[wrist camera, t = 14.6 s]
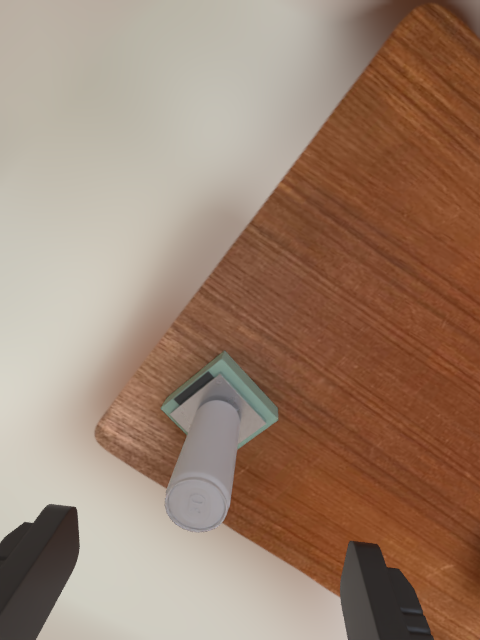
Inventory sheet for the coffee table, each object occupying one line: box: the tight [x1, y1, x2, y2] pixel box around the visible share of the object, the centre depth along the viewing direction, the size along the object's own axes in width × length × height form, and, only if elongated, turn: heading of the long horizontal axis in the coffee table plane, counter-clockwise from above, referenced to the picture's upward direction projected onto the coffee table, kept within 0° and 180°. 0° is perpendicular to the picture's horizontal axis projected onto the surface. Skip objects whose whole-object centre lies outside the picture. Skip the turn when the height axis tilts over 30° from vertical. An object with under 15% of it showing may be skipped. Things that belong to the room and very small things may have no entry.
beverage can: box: [165, 400, 240, 532], centre depth 31 cm, size 5×5×12 cm
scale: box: [161, 351, 278, 449], centre depth 39 cm, size 9×9×3 cm
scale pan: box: [170, 371, 266, 444], centre depth 38 cm, size 7×7×1 cm
